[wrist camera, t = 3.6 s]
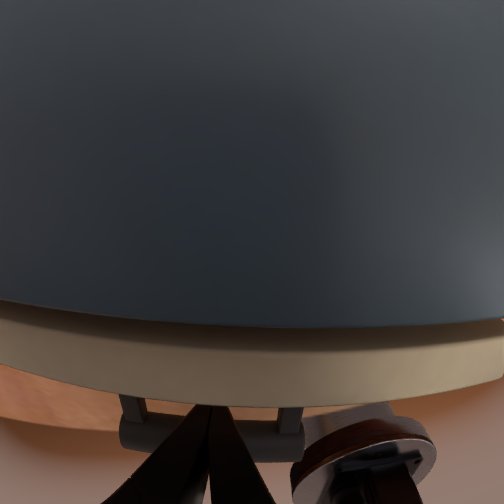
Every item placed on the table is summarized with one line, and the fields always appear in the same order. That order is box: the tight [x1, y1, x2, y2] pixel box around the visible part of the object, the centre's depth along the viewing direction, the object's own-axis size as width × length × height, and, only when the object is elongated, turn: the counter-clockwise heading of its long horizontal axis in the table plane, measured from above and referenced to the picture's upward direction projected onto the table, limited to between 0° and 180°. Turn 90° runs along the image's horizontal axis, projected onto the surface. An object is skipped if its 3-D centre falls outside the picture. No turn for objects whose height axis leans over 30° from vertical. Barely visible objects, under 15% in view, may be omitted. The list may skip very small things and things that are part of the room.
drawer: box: [0, 300, 504, 463], centre depth 7 cm, size 17×13×7 cm
